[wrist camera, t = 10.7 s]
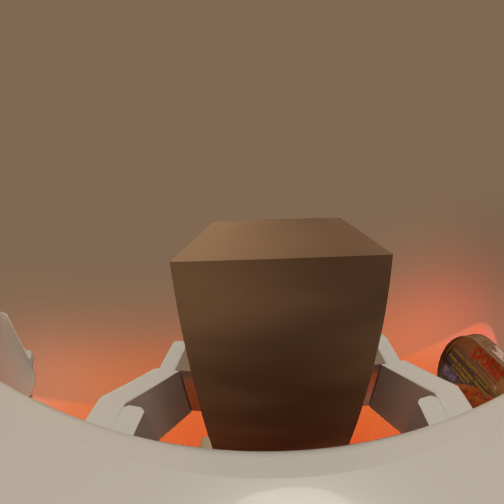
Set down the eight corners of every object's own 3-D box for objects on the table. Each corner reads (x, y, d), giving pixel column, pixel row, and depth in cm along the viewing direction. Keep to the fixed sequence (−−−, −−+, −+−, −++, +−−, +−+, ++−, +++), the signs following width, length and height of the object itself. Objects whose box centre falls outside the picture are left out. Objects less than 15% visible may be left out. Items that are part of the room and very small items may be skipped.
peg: (233, 506, 8) (170, 262, 5) (241, 447, 12) (213, 222, 9) (321, 505, 8) (392, 254, 4) (315, 445, 12) (340, 218, 8)
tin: (428, 383, 23) (450, 321, 21) (447, 376, 23) (469, 316, 21) (487, 476, 9) (541, 414, 6) (507, 460, 9) (557, 397, 6)
